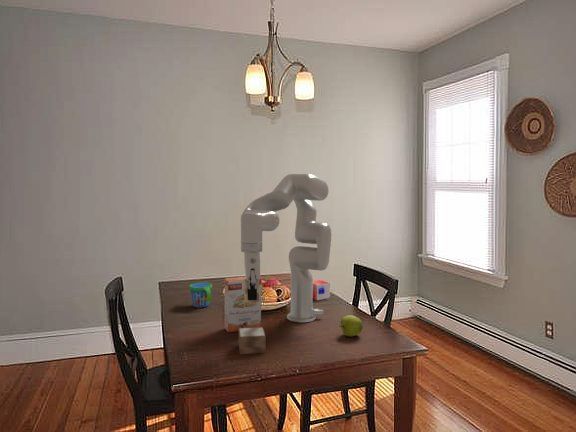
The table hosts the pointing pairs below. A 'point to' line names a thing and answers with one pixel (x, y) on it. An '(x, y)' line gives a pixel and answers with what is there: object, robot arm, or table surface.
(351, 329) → the apple
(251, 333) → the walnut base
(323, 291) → the red and white cube
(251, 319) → the cracker box
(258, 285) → the beech block
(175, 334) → the table surface
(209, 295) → the snack cup
